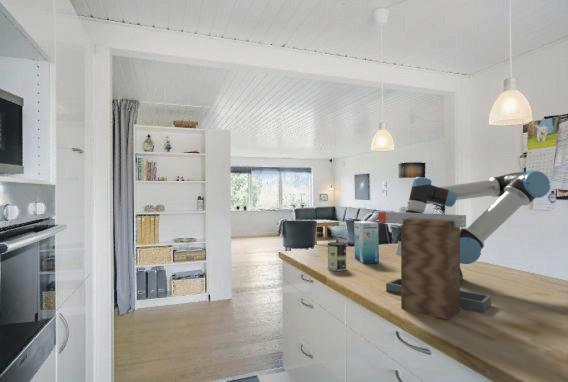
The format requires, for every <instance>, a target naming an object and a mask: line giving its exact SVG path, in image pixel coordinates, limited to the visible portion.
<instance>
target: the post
mask: <svg viewBox="0 0 568 382" xmlns="http://www.w3.org/2000/svg"><path fill="white" fill-rule="evenodd" d="M460 229H461V228H458V227H452V221H437V220H419V219H403V224H401V225H400V230H401V256H400V257H401V260H400V267H401V268H400V277H401V278H400V279H401V297H400V298H401V299H400V305H401V307H400V309H403V310H408V311H412V312H416V313H419V314H423V315H427V316H432V317H435V318H439V319H443V320H447V321H449V320H450V319H452V318H453V317H454V316H456V315H457V314H458V313H459V312H460V311H461V308H460V290H461V281H460V268H461V263H460Z"/></svg>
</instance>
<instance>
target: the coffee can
mask: <svg viewBox="0 0 568 382" xmlns="http://www.w3.org/2000/svg"><path fill="white" fill-rule="evenodd" d="M327 269H328V270H329V271H333V272H334V271H335V272H336V271H337V272H343V271H346V270H347V243H346V242H342V241H330V242H327Z"/></svg>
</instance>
